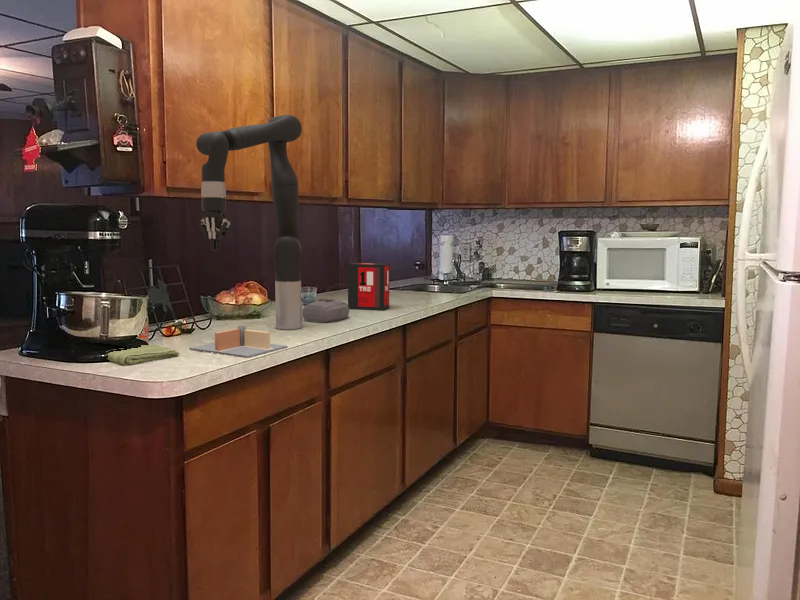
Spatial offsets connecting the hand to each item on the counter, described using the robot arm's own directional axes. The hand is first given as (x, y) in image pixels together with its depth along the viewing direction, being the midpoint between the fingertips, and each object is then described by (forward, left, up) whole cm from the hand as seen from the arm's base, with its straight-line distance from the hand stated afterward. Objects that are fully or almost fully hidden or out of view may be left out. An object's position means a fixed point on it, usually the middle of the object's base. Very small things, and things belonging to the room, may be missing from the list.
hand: (215, 250), depth 211 cm
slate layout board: (+8, +17, -29) cm, 34 cm away
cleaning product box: (-90, +4, -29) cm, 95 cm away
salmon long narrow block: (+12, +16, -28) cm, 34 cm away
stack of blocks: (+22, -20, -29) cm, 42 cm away
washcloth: (+32, +2, -30) cm, 44 cm away
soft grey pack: (-55, +6, -29) cm, 63 cm away
